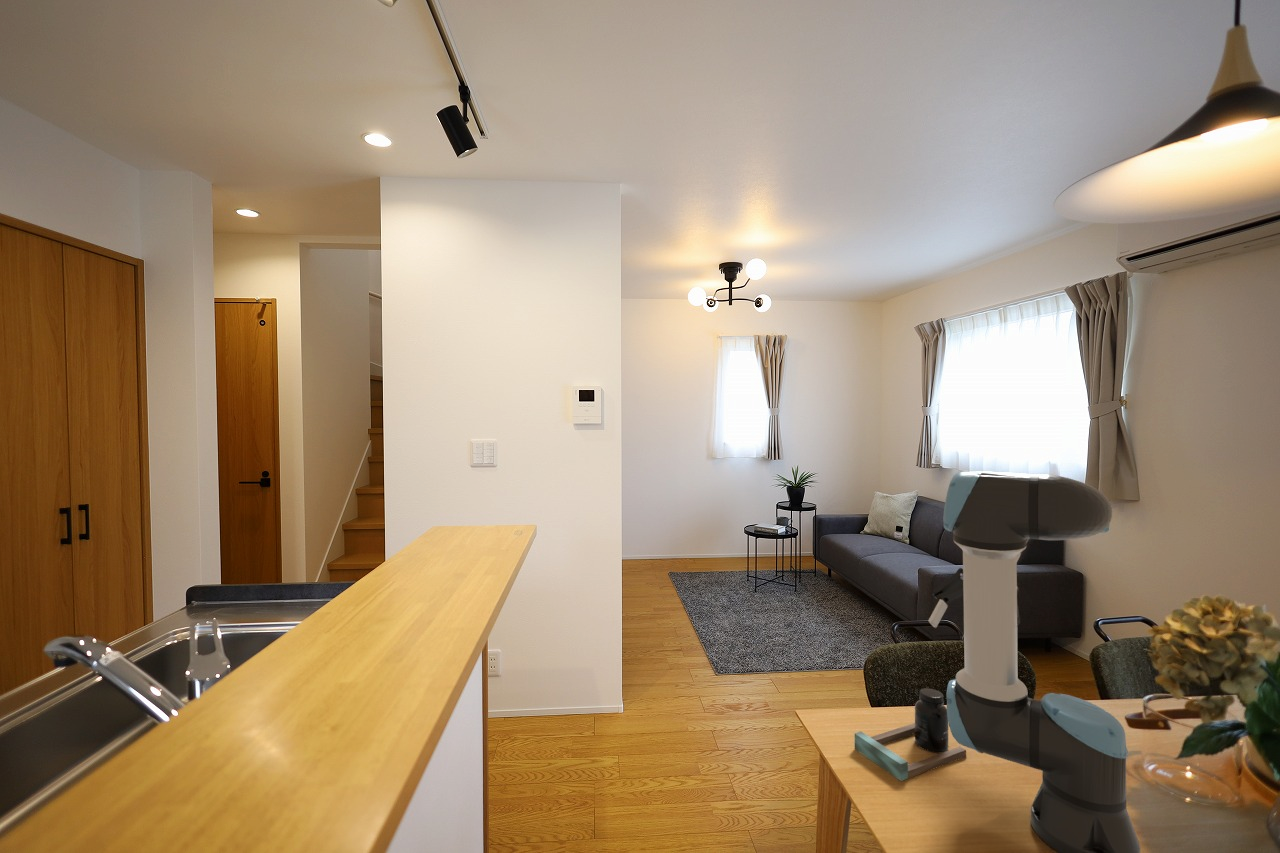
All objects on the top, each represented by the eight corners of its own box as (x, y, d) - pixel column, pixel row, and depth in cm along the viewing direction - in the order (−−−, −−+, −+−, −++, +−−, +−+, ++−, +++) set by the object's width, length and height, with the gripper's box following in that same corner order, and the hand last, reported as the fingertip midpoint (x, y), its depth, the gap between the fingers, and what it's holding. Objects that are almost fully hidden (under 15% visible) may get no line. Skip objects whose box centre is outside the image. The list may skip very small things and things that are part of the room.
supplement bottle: (953, 755, 123) (952, 701, 123) (919, 752, 124) (919, 698, 124) (942, 738, 129) (942, 687, 129) (911, 735, 131) (911, 684, 131)
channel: (966, 756, 122) (966, 740, 122) (900, 781, 114) (900, 764, 114) (917, 728, 134) (917, 713, 134) (854, 748, 126) (854, 733, 126)
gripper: (1059, 584, 127) (1021, 663, 121) (955, 558, 150) (918, 625, 143) (1045, 564, 125) (1006, 645, 119) (942, 542, 147) (904, 608, 141)
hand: (958, 634), depth 131 cm, fingers open, 13 cm apart
